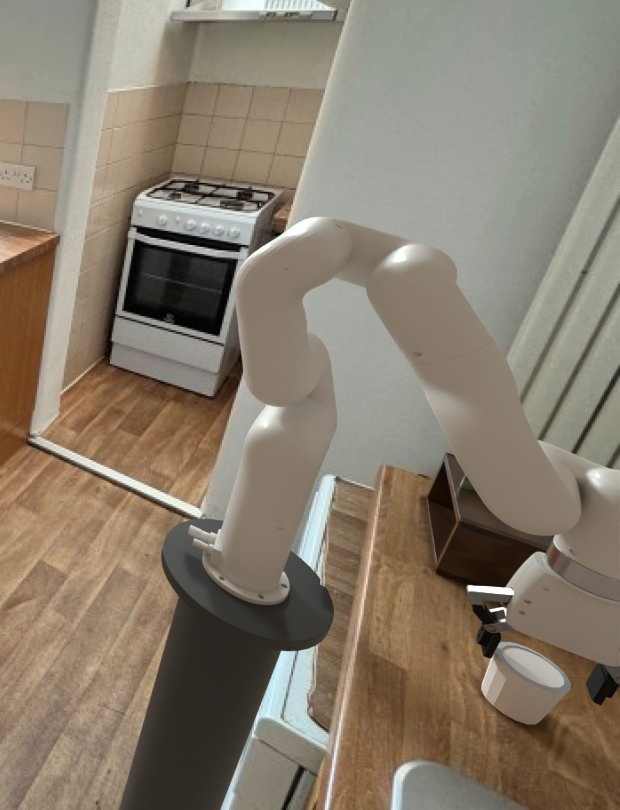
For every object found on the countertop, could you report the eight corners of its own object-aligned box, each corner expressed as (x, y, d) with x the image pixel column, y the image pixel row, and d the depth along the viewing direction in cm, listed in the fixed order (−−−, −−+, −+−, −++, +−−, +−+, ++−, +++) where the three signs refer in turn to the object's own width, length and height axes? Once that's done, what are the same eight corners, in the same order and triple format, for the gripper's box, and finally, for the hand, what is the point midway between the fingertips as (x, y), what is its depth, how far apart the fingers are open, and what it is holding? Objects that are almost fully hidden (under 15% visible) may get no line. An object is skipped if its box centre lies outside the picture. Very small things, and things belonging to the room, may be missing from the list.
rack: (435, 572, 99) (467, 505, 94) (424, 498, 115) (451, 438, 110) (538, 612, 92) (578, 542, 87) (511, 528, 108) (544, 465, 103)
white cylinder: (480, 708, 78) (502, 671, 76) (469, 667, 84) (489, 631, 81) (555, 741, 75) (580, 704, 72) (539, 696, 80) (562, 659, 77)
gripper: (696, 585, 68) (629, 689, 74) (487, 518, 78) (443, 614, 84) (726, 633, 63) (651, 741, 69) (497, 554, 73) (449, 654, 79)
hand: (536, 671), depth 76 cm, fingers open, 9 cm apart
